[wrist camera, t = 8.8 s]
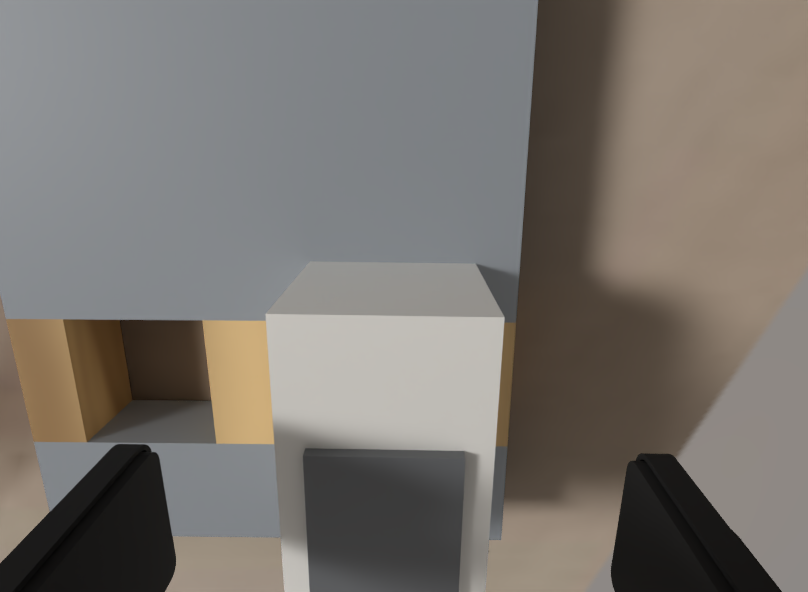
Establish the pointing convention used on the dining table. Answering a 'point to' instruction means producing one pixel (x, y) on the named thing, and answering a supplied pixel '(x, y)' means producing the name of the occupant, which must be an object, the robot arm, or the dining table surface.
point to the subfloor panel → (239, 204)
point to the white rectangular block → (385, 425)
